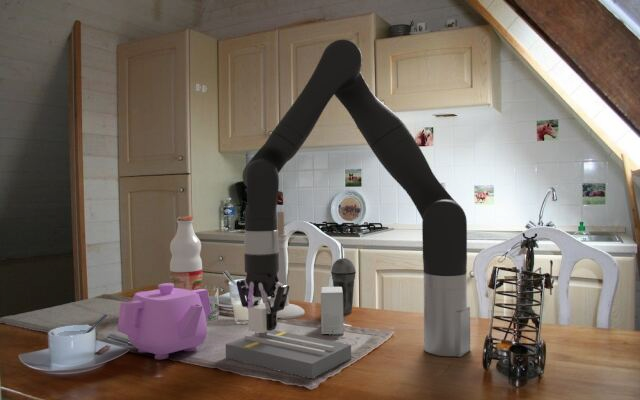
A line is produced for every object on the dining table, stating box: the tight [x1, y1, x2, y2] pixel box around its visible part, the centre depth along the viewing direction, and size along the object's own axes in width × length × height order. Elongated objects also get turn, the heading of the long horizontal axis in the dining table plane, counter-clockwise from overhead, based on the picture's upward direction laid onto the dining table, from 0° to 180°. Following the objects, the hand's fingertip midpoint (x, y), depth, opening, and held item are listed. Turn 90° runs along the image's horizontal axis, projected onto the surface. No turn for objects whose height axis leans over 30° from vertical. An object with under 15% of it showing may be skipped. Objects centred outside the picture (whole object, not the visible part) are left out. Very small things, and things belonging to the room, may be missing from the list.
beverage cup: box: [330, 243, 357, 315], centre depth 153 cm, size 7×7×20 cm
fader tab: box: [247, 302, 278, 338], centre depth 116 cm, size 4×5×7 cm
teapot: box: [116, 282, 212, 360], centre depth 120 cm, size 19×18×15 cm
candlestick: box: [276, 209, 306, 320], centre depth 152 cm, size 13×13×30 cm
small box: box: [320, 286, 345, 336], centre depth 134 cm, size 8×6×10 cm
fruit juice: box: [169, 215, 203, 291], centre depth 159 cm, size 9×9×28 cm
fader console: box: [225, 329, 352, 379], centre depth 113 cm, size 23×14×4 cm, turn 55°
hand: (262, 327), depth 116 cm, fingers closed on fader tab, 4 cm apart
